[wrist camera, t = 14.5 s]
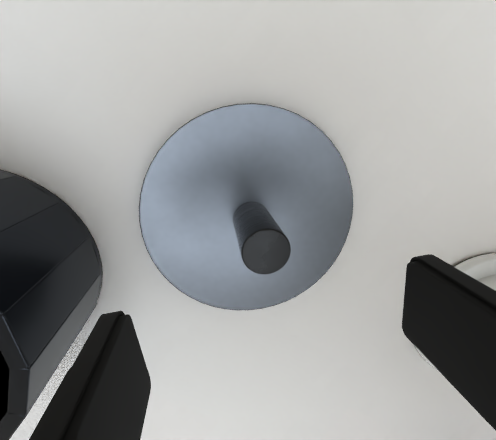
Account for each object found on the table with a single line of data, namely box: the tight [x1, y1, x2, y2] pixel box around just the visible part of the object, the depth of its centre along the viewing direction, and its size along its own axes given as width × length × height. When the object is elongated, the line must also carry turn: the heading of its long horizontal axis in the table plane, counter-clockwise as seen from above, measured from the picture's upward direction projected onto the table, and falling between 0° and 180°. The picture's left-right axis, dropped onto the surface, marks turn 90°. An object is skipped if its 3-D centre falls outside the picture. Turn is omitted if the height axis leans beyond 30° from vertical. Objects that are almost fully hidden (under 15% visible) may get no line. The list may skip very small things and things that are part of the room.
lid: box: [139, 103, 353, 310], centre depth 17 cm, size 15×15×7 cm
